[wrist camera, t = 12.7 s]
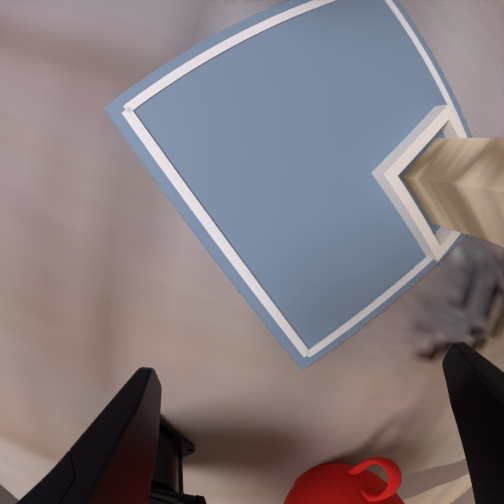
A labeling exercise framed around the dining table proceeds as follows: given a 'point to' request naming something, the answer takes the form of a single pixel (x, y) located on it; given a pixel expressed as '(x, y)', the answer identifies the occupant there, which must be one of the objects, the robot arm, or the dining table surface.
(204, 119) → the board
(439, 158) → the maple pillar
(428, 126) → the collar
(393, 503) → the ceramic cup
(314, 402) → the dining table surface
